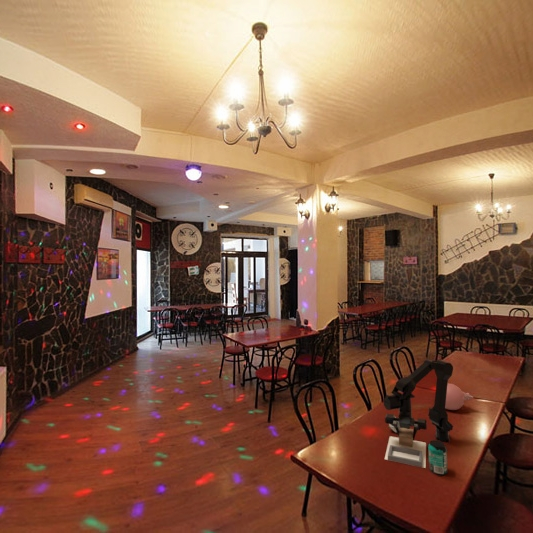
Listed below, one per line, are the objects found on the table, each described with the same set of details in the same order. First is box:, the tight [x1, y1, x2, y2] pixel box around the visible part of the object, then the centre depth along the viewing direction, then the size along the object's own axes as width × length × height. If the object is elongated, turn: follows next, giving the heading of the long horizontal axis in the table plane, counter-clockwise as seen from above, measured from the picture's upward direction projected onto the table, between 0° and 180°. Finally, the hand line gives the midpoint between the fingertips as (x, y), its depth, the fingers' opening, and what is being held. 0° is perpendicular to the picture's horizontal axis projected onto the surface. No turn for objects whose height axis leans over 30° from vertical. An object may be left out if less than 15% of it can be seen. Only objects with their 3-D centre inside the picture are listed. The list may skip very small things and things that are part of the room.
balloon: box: [445, 382, 474, 411], centre depth 202 cm, size 15×20×15 cm
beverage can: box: [427, 439, 449, 477], centre depth 141 cm, size 7×7×12 cm
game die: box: [387, 415, 400, 435], centre depth 176 cm, size 9×8×10 cm
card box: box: [398, 428, 414, 447], centre depth 162 cm, size 10×6×4 cm, turn 154°
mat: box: [384, 435, 427, 469], centre depth 157 cm, size 23×17×3 cm
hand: (406, 438), depth 162 cm, fingers closed on card box, 6 cm apart
